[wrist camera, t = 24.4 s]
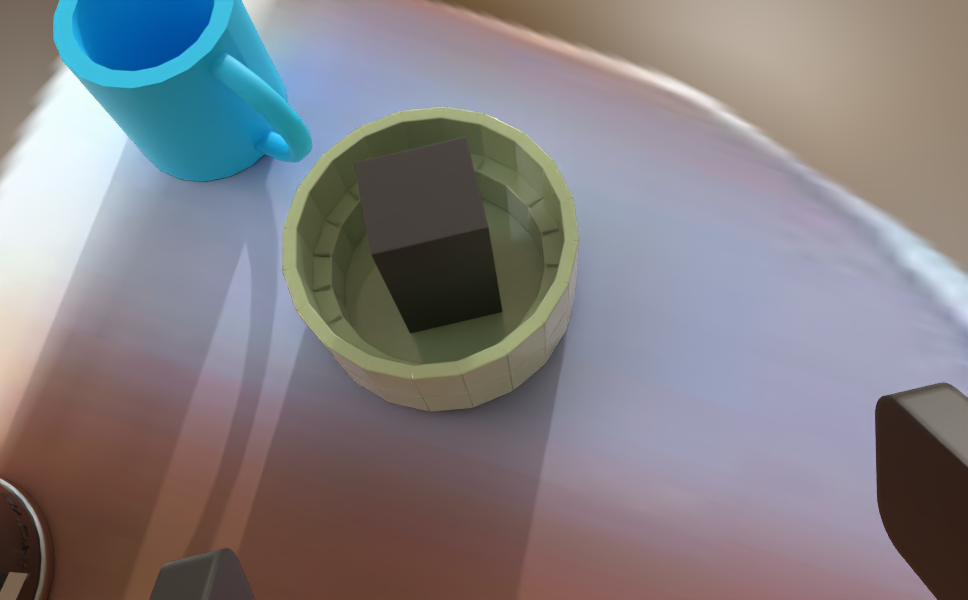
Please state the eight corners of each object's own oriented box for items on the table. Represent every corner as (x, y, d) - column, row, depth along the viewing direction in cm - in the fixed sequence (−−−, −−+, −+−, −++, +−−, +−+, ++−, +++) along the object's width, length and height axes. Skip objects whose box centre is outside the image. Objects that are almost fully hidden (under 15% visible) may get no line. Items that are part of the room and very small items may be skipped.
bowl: (368, 456, 38) (336, 427, 32) (287, 230, 42) (246, 170, 37) (617, 350, 39) (628, 304, 33) (512, 140, 43) (506, 68, 38)
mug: (105, 134, 45) (15, 35, 38) (205, 26, 47) (138, -89, 40) (276, 246, 42) (215, 163, 34) (375, 125, 44) (338, 21, 37)
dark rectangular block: (502, 312, 39) (488, 228, 31) (409, 334, 39) (370, 255, 31) (484, 236, 41) (466, 135, 32) (394, 257, 41) (353, 161, 32)
